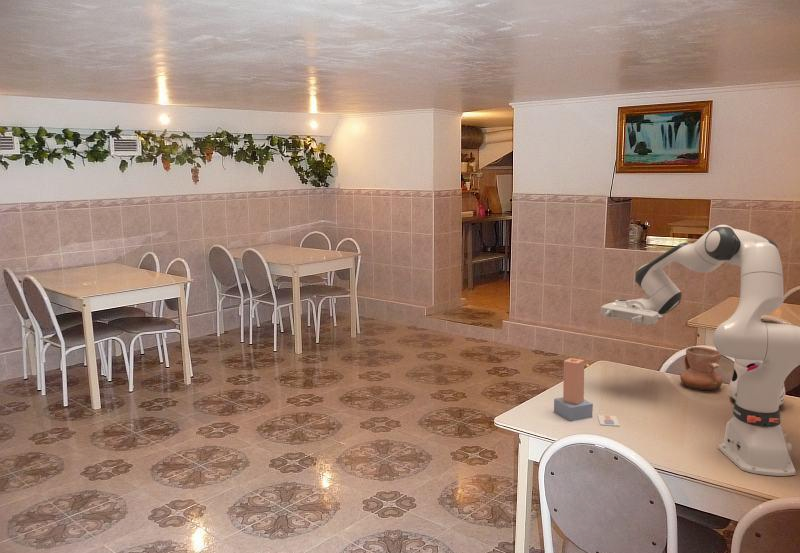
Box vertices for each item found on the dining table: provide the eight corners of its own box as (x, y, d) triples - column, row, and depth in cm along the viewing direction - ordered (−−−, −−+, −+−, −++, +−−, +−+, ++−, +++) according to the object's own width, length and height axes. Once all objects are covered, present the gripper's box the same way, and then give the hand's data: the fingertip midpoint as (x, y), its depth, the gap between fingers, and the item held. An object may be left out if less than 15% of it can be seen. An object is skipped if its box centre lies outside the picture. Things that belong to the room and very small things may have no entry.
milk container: (771, 416, 219) (776, 365, 216) (719, 401, 232) (723, 353, 229) (791, 404, 230) (797, 354, 227) (741, 390, 243) (745, 344, 240)
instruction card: (619, 426, 211) (619, 425, 211) (600, 425, 213) (600, 423, 212) (616, 416, 219) (616, 415, 219) (597, 415, 220) (597, 414, 220)
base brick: (592, 417, 219) (592, 403, 218) (569, 422, 216) (570, 407, 215) (575, 408, 227) (576, 395, 227) (553, 412, 224) (554, 398, 223)
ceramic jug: (732, 393, 241) (735, 355, 239) (697, 395, 238) (700, 357, 236) (701, 378, 258) (704, 343, 256) (668, 380, 256) (671, 344, 253)
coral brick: (583, 400, 221) (584, 358, 219) (577, 404, 217) (577, 361, 215) (570, 397, 224) (570, 356, 222) (563, 401, 221) (563, 359, 219)
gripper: (664, 325, 233) (646, 332, 223) (611, 315, 247) (592, 321, 238) (665, 307, 232) (647, 314, 222) (612, 298, 246) (593, 304, 237)
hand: (618, 317), depth 230 cm, fingers open, 8 cm apart
